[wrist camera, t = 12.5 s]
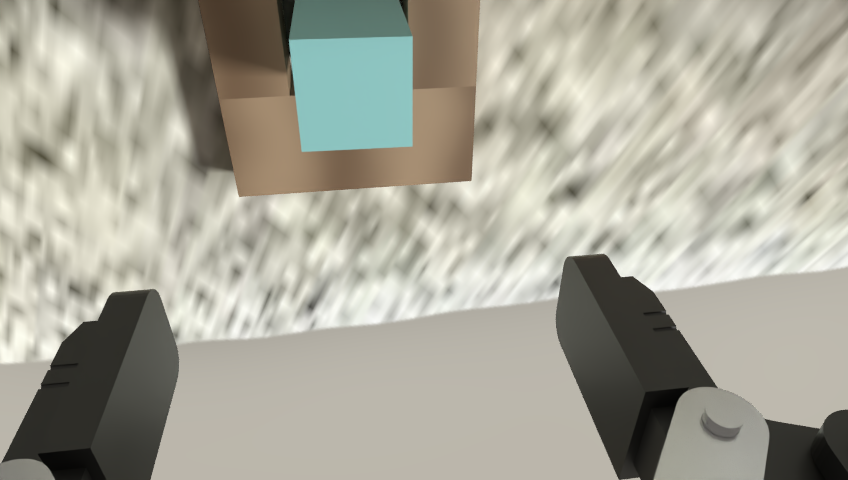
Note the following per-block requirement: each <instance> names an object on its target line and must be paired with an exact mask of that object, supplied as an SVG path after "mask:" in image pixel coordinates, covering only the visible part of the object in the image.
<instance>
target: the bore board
mask: <svg viewBox="0 0 848 480" xmlns="http://www.w3.org/2000/svg"><path fill="white" fill-rule="evenodd" d="M198 2H199V7H200V11H201V16H202V21H203V26H204V31H205V35H206V40H207V45H208V50H209V55H210V60H211V64H212V69H213V74H214V79H215V84H216V88H217V93H218V98H219V103H220V108H221V112H222V117H223V122H224V127H225V132H226V137H227V141H228V146H229V151H230V156H231V161H232V165H233V170H234V175H235V180H236V185H237V189H238V194H239V197H243V196H258V195H272V194H287V193H301V192H316V191H330V190H345V189H359V188H374V187H389V186H403V185H418V184H432V183H447V182H461V181H471V178H472V157H473V136H474V115H475V94H476V73H477V52H478V31H479V10H480V0H402V3H403V12H404V15H405V18H406V20H407V23H408V26H409V28H410V31H411V33H412V36H413V147H393V148H372V149H352V150H331V151H311V152H302V150H301V141H300V132H299V123H298V115H297V106H296V97H295V89H294V80H293V77H292V73H291V65H290V58H289V50H288V42H287V35H286V27H285V20H284V12H283V5H282V0H198Z"/></svg>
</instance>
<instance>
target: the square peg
mask: <svg viewBox="0 0 848 480" xmlns="http://www.w3.org/2000/svg"><path fill="white" fill-rule="evenodd" d="M289 45H290V54H291V63H292V71H293V80H294V89H295V97H296V106H297V115H298V123H299V132H300V141H301V150H302V152H311V151H331V150H352V149H372V148H393V147H413V36H412V33H411V31H410V28H409V26H408V23H407V20H406V18H405V15H404V12H403V10H402V7H401V5H400V2H399V0H295V4H294V10H293V17H292V23H291V30H290V36H289Z"/></svg>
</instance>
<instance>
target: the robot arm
mask: <svg viewBox="0 0 848 480" xmlns="http://www.w3.org/2000/svg"><path fill="white" fill-rule="evenodd" d="M556 328H557V334H558V339H559V341H560V344H561V347H562V349H563V351H564V354H565V356H566V358H567V361H568V363H569V365H570V367H571V370H572V372H573V375H574V377H575V379H576V382H577V384H578V386H579V389H580V391H581V393H582V395H583V398H584V400H585V402H586V404H587V407H588V409H589V411H590V414H591V416H592V419H593V421H594V423H595V425H596V428H597V430H598V433H599V435H600V437H601V439H602V442H603V444H604V446H605V449H606V451H607V453H608V456H609V458H610V460H611V463H612V465H613V467H614V470H615V472H616V474H617V477H618V479H619V480H621V479H630V478H638V477H640V479H641V480H848V410H840V411H837V412H834V413H832V414H831V415H829V416H828V417H827V418H826V419H825V421H824V423H823V425H822V426H821V428H820V429H818V428H811V427H806V426H800V425H794V424H788V423H782V422H776V421H771V420H766V419H764V418H763V416H762V415H761V413H760V412H759V411H758V410H757V409H756V408H755V407H754V406H753V405H752V404H750V403H749V402H748V401H746V400H745V399H743V398H742V397H740V396H738V395H736V394H734V393H732V392H729V391H726V390H723V389H719V388H718V387H717V386H716V385H715V383H714V382H713V380H712V379H711V377H710V376H709V374H708V373H707V371H706V370H705V368H704V367H703V365H702V364H701V362H700V361H699V360H698V358H697V356H696V355H695V354H694V352H693V350H692V349H691V347H690V346H689V344H688V343H687V341H686V340H685V338H684V337H683V335H682V334H681V332H680V331H679V330H677V329H676V325H675V324H674V322H673V321H672V319H671V318H670V316H669V315H666V310H665V309H664V307H663V306H662V304H661V303H660V301H659V300H658V298H657V297H656V295H655V294H654V292H653V291H651V290H650V289H649V288H647V287H646V286H645V285H643V284H642V283H641V282H639V281H638V280H637V279H635V278H634V277H633V276H631V277H620V275H619V274H618V272H617V270H616V269H615V267H614V266H613V264H612V262H611V261H610V259H609V258H608V256H606V255H605V254H595V255H583V256H571V257H567V258H566V260H565V262H564V267H563V273H562V279H561V285H560V292H559V298H558V304H557V311H556ZM50 366H51V370H48V371H47V373H46V376H45V377H44V379H43V382H42V383H41V389H39V390H38V391H37V393H36V395H35V397H34V399H33V401H32V403H31V405H30V407H29V409H28V411H27V413H26V415H25V417H24V419H23V421H22V423H21V425H20V427H19V429H18V431H17V433H16V435H15V437H14V439H13V441H12V443H11V445H10V447H9V449H8V451H7V453H6V455H5V457H4V459H3V461H2V463H0V480H150V479H151V475H152V472H153V468H154V464H155V460H156V457H157V453H158V449H159V446H160V442H161V438H162V434H163V430H164V427H165V423H166V419H167V415H168V412H169V408H170V404H171V401H172V397H173V393H174V390H175V386H176V382H177V378H178V371H179V357H178V350H177V346H176V342H175V339H174V336H173V333H172V330H171V327H170V324H169V321H168V318H167V315H166V312H165V309H164V306H163V303H162V300H161V298H160V295H159V293H158V292H157V291H156V290H155V289H150V290H138V291H125V292H114V293H112V294H111V295H110V296H109V297H108V299H107V302H106V304H105V306H104V308H103V310H102V313H101V315H100V317H99V319H98V321H90V322H83V323H82V324H81V325H80V326H79V327H78V328H77V329H76V330H75V331H74V332H73V333H72V334H71V335H70V336H69V337H67V338H66V339H65V340H64V341H63V342H62V344H61V346H60V348H59V350H58V352H57V354H56V356H55V358H54V359H53V361H52V363H51V365H50Z"/></svg>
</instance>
